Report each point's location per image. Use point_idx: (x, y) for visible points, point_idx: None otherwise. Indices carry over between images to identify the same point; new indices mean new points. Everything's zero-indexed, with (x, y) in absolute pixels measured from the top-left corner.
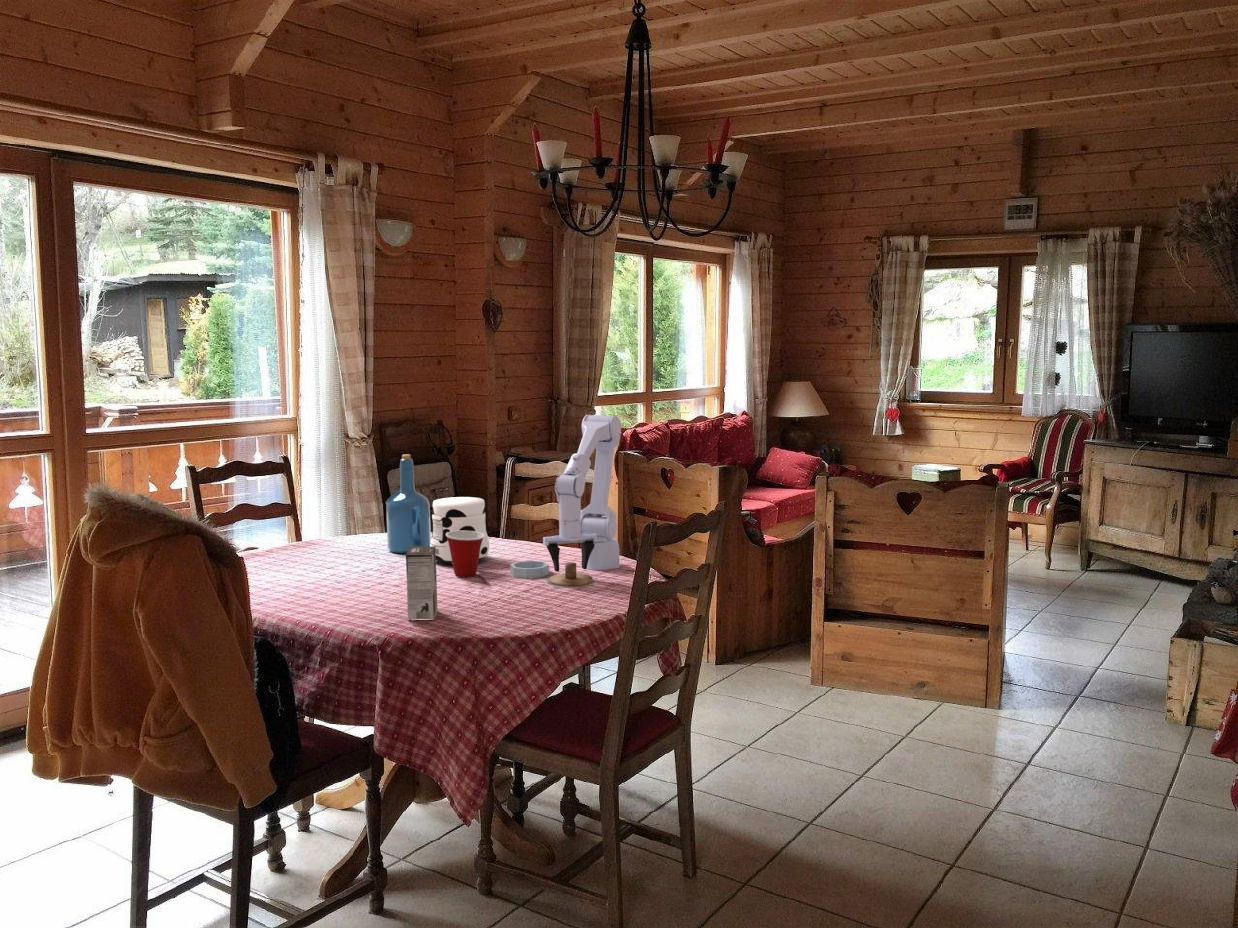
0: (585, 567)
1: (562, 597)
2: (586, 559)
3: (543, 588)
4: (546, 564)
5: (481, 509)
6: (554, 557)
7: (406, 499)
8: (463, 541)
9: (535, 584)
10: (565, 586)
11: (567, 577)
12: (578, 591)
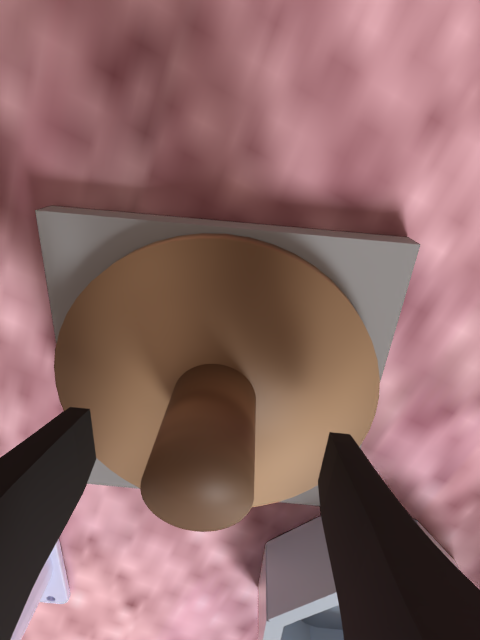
0: (69, 416)
1: (462, 23)
2: (11, 470)
3: (421, 367)
4: (278, 628)
5: None
6: (455, 567)
7: None
8: None
9: (407, 462)
10: (318, 266)
11: (249, 390)
12: (239, 177)
